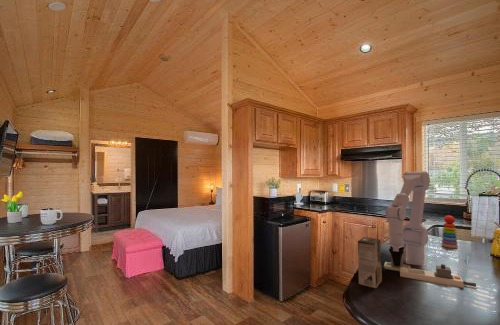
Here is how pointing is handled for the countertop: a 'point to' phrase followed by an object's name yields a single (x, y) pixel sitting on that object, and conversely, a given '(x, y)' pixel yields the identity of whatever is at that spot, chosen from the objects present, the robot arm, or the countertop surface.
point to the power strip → (433, 277)
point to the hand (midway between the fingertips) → (397, 264)
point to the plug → (400, 262)
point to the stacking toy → (449, 233)
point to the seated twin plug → (443, 271)
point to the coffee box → (369, 262)
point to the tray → (388, 266)
